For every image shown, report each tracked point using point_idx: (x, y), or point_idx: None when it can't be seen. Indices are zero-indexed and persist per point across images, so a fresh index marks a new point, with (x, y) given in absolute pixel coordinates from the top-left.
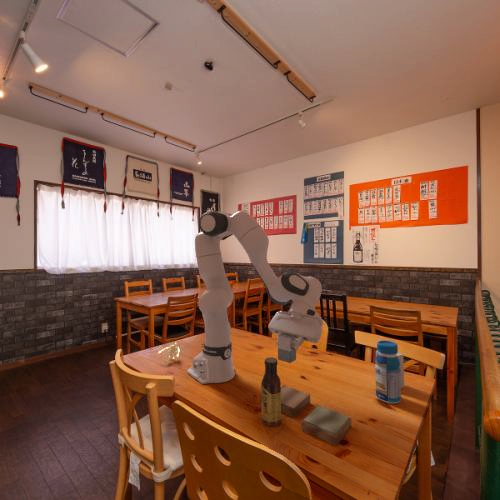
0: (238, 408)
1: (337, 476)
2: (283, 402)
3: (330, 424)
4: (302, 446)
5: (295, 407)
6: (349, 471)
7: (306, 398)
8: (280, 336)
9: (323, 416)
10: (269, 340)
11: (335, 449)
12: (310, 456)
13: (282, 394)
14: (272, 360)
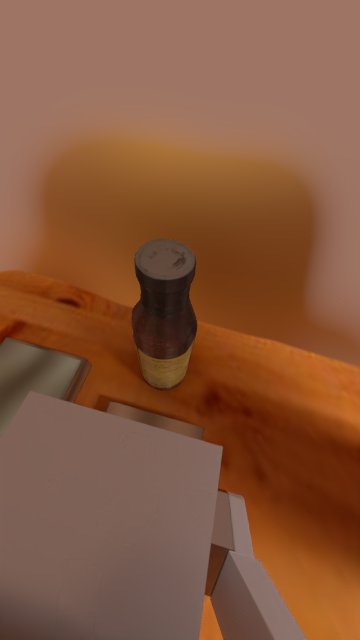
0: (256, 386)
1: (30, 286)
2: (146, 418)
3: (10, 366)
4: (86, 323)
5: (107, 410)
6: (8, 299)
7: None
8: (197, 489)
9: (23, 394)
10: None
11: (21, 336)
12: (71, 307)
13: None
14: (155, 251)
